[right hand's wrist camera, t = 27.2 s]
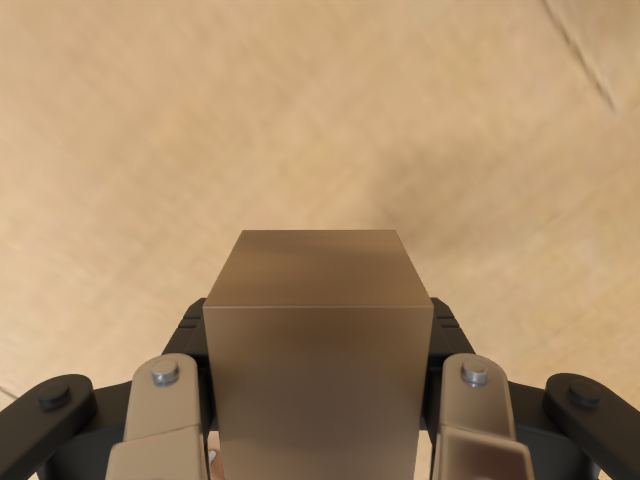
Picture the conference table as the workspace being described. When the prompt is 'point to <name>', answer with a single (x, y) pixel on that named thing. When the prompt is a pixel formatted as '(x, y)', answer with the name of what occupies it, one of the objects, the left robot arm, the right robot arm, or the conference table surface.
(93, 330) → the conference table surface
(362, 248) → the brick
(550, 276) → the conference table surface
